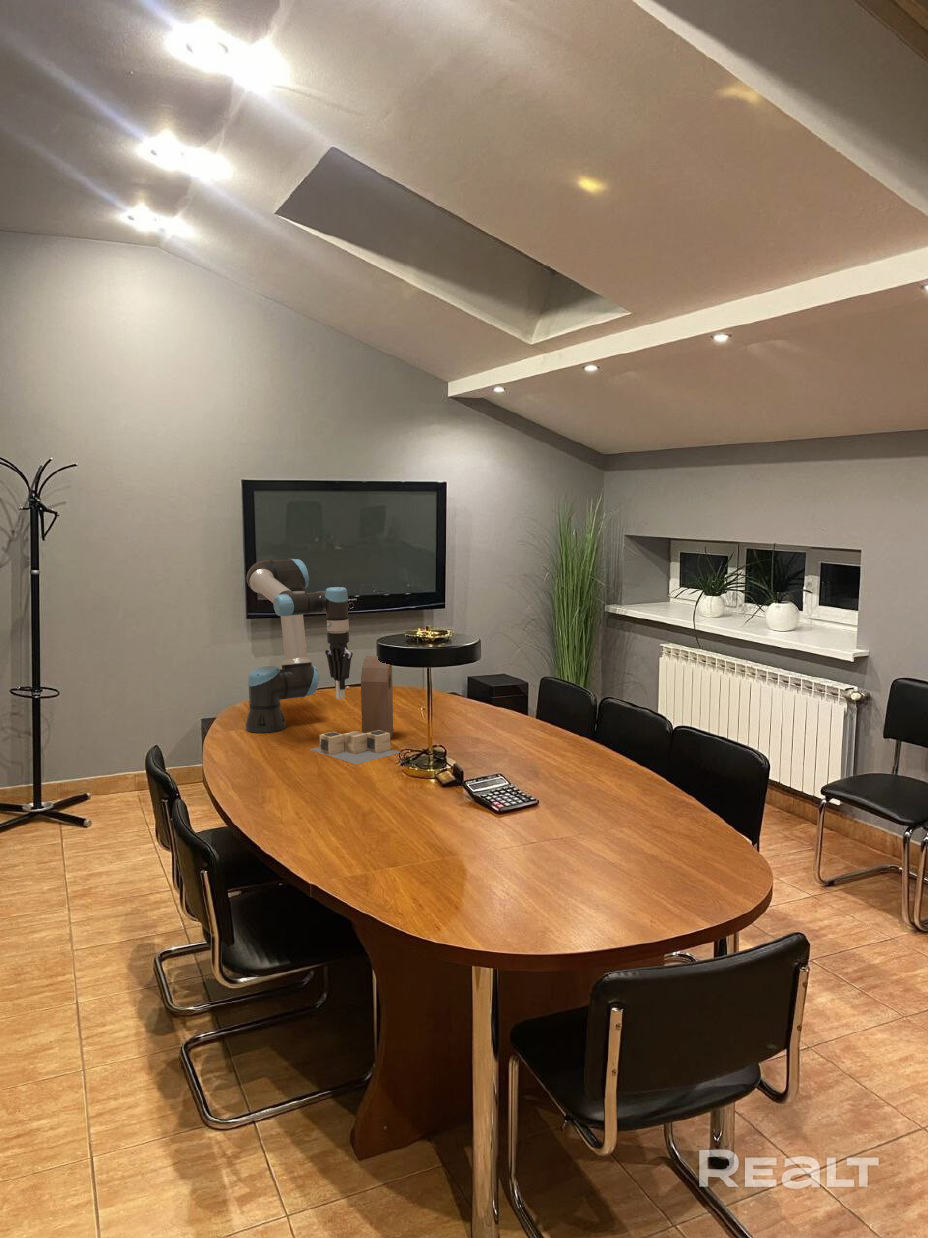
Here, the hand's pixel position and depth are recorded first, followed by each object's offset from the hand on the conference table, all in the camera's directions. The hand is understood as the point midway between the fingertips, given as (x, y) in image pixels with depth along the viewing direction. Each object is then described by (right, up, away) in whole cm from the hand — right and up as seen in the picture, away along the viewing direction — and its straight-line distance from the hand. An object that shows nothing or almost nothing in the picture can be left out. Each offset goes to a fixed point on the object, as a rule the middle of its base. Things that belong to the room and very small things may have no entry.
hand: (340, 698), depth 326 cm
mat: (+5, -19, -2) cm, 20 cm away
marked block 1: (-3, -18, -3) cm, 19 cm away
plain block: (+5, -18, -2) cm, 19 cm away
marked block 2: (+13, -18, -1) cm, 22 cm away
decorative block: (+12, -16, +15) cm, 25 cm away
